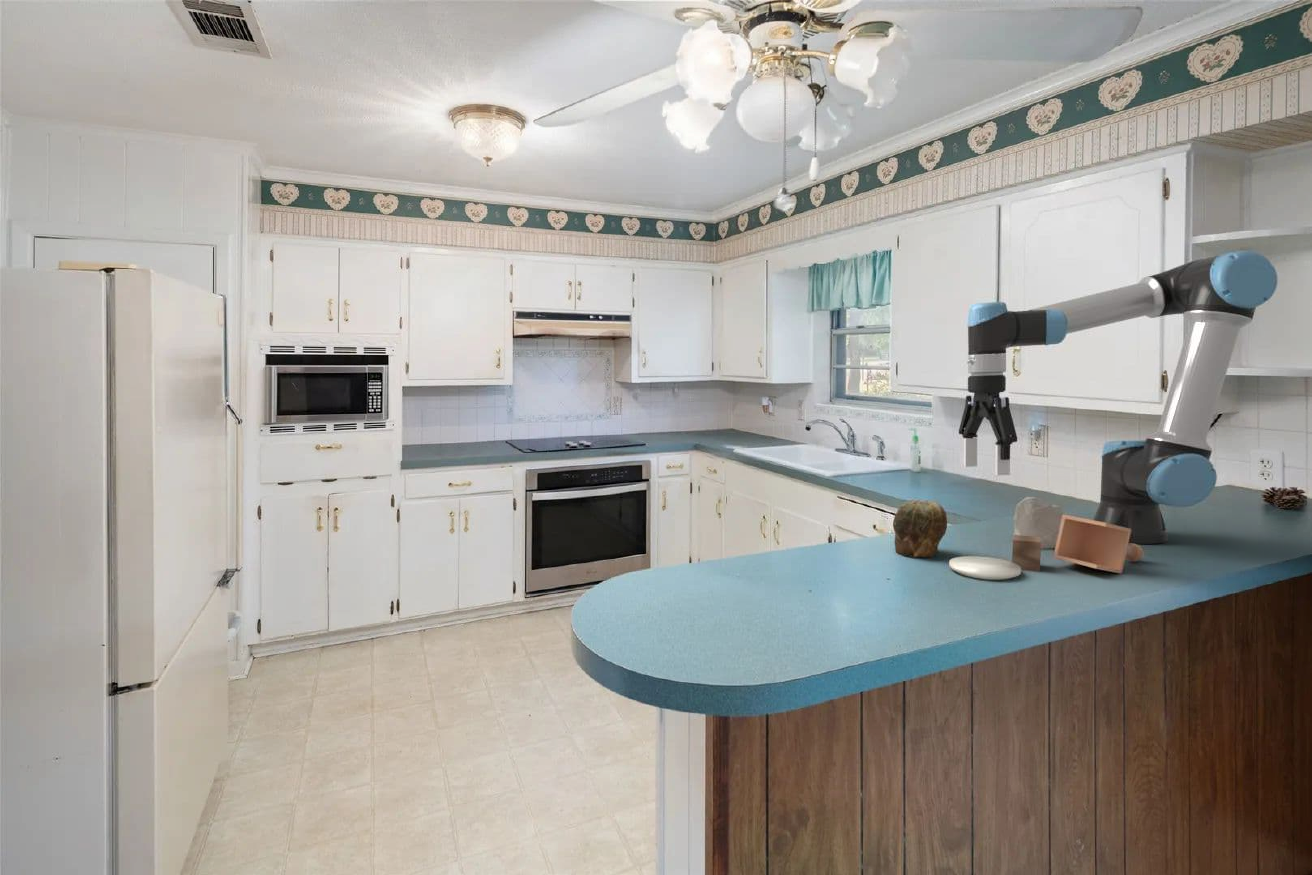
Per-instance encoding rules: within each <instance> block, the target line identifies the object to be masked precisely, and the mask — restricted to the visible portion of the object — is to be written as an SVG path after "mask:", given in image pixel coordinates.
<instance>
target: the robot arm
mask: <svg viewBox="0 0 1312 875" xmlns="http://www.w3.org/2000/svg"><path fill="white" fill-rule="evenodd" d="M1277 288H1278V274H1277V270H1276V268H1275V265H1273V264H1272V263H1271V262H1270V260H1269V259H1268V258H1267V257H1266V256H1264V255H1263V254H1261V253H1258V252H1255V251H1251V250H1241V251H1239V250H1238V251H1228V252H1225V253H1222V254H1218V255H1215V256H1211V257H1207V258H1201V259H1196V260H1193V261H1190V262H1187V263H1183V264H1182V265H1178V266H1175V267H1174V268H1171V269H1168V270H1165V271H1163V272H1159V273H1156V274H1153V275H1149V276H1145V277H1143V278H1141V279H1140V280H1139V281H1138V283H1134V284H1130V285H1125V286H1122V287H1119V288H1114V289H1109V290H1105V291H1102V292H1097V293H1093V294H1090V295H1085V296H1081V297H1078V298H1073V299H1070V300H1069V299H1068V300H1065V301H1060V302H1055V303H1052V304H1048V305H1044V306H1039V307H1037V308H1031V309H1028V310H1019V311H1011V310H1008V308H1007V304H1006V303H1005V302H1003V301H999V302H997V301H992V302H989V301H988V302H979V303H974V304H972V305H971V306H970V307H969V309H968V317H967V318H968V319H967V343H968V344H967V345H968V346H967V347H968V350H967V351H968V352H967V355H968V356H967V358H968V359H967V360H966V364H967V365H968V366H967V369H968V370H967V372H968V374H971V375H969V376H968V377H967V392H968V393H972V395H966V396H965V404H964V409H963V413H962V417H961V420H960V424H959V428H958V435H962V438H963V439H964V440H963V445H964V446H963V449H964V450H963V451H964V452H963V467H965V468H969V467H978V431H979V429H980V427H981V424H982V423H983V420H984V418H985V419H986V420H987V421H989V424H990V426H991V429H992V431H993V434H994V436H995V438H996V442H995V443H994V444H995V466H994V467H995V471H994V474H995V476H1010V475H1011V472H1010V471H1011V468H1010V467H1011V445H1012V444H1013V443H1017V442H1018V436H1017V431H1016V427H1015V424H1014V420H1013V417H1012V412H1011V408H1010V398H1009V397H1008V396H1006V397H1005V396H1003V397H1000V393H1004V392H1005V391H1006V388H1007V385H1006V382H1007V379H1006V378H1007V376H1005V374H1004V373H1005V372H1007V349H1009V348H1013V347H1015V348H1016V347H1028V346H1029V347H1030V346H1049V345H1058V344H1060V343H1062V342H1063V341H1064V340H1065V339H1066V336H1067V335H1068V334H1071V333H1072V334H1073V333H1077V332H1081V331H1085V330H1089V329H1094V328H1097V327H1103V326H1106V325H1111V324H1114V323H1115V324H1116V323H1120V322H1124V321H1128V320H1132V319H1136V318H1140V317H1148V318H1150V319H1155V318H1159V317H1164V316H1171V315H1180V314H1181V315H1183V317H1184V318H1185V319H1186V320H1187V321H1188V327H1187V330H1186V333H1185V336H1184V341H1183V343H1182V347H1181V350H1180V354H1179V358H1178V361H1177V364H1176V368H1175V370H1174V374H1173V378H1172V381H1171V384H1170V387H1169V391H1168V393H1167V394H1168V395H1167V397H1166V401H1165V404H1164V408H1163V410H1162V411H1163V412H1162V415H1161V418H1160V421H1159V424H1158V428H1157V430H1156V431H1155V432H1154V433H1152V434H1150V435H1147V437H1146V439H1145V440H1111V441H1107V442H1106V443H1104V445H1103V448H1102V452H1101V453H1102V454H1101V476H1100V477H1101V478H1100V479H1101V482H1100V499H1099V500H1100V502H1099V505H1098V507H1097V509H1096V511H1095V513H1094V515H1093V519H1092V520H1094V521H1099V522H1104V523H1108V524H1113V525H1117V526H1121V527H1125V528H1129V529H1131V533H1130V538H1129V542H1128V544H1130V543H1134V544H1142V545H1146V544H1147V545H1150V544H1151V545H1152V544H1162V543H1166V542H1167V541H1168V530H1167V528H1166V524H1165V521H1164V517H1163V515H1162V511H1161V508H1160V505H1161V506H1162V505H1163V506H1167V507H1175V508H1188V507H1193V506H1195V505H1196V504H1198V503H1201V502H1203V501H1205V499H1207V498H1208V497H1209V496H1210V495H1211V493H1213V490H1214V489H1215V486H1216V484H1217V478H1218V477H1217V475H1218V474H1217V470H1216V469H1215V468H1214V464H1213V463H1212V462H1211V461H1210V458H1211V455H1212V453H1213V448H1212V447H1211V446H1210V445H1209V443H1208V441H1207V437H1208V435H1209V431H1210V428H1211V425H1212V422H1213V419H1214V415H1215V411H1216V408H1217V405H1218V402H1219V398H1220V395H1221V392H1222V388H1223V385H1224V382H1225V379H1226V375H1227V372H1228V369H1229V366H1230V362H1231V359H1232V356H1233V352H1234V348H1235V346H1236V343H1237V340H1238V337H1239V333H1240V329H1242V328H1243V327H1245V326H1247V325H1248V324H1251V323H1252V321H1253V318H1254V315H1255V312H1256V309H1257V307H1259V306H1261V305H1263V304H1265V303H1266V302H1267V301H1268V300H1270V299H1271V297H1273V295H1274V293H1275V292H1276V290H1277Z"/></svg>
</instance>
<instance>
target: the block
mask: <svg viewBox="0 0 1312 875" xmlns="http://www.w3.org/2000/svg"><path fill="white" fill-rule="evenodd" d="M1041 551H1042V549H1041V537H1035V536H1023V535H1014V534H1012V553H1011V554H1012V555H1011V556H1012V557H1011V559H1012V561H1011V562H1013V563H1015V564H1017V565H1019V566H1020V567H1021V571H1028V572H1029V571H1031V572H1041V556H1042V555H1041V553H1042V552H1041Z"/></svg>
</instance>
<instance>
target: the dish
mask: <svg viewBox="0 0 1312 875" xmlns="http://www.w3.org/2000/svg"><path fill="white" fill-rule="evenodd" d="M948 562H949V563H948V565H949V568H950V569H951V570H952V571H954V572H956V573H958V574H960V575H962V576H966V577H968V578H974V579H979V580H980V579H981V580H990V581H1002V580H1004V581H1005V580H1010V579H1013V578H1015V577H1019V576H1020V575H1021V573H1022V570H1021V567H1020V566H1019V565H1017V564H1015V563H1013V562H1012V561H1009V560H1006V559H1002V558H996V557H990V556H978V555H977V556H976V555H966V556H965V555H964V556H957V557H953V558H950V559H949V561H948Z"/></svg>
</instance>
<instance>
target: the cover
mask: <svg viewBox="0 0 1312 875" xmlns="http://www.w3.org/2000/svg"><path fill="white" fill-rule="evenodd" d="M1130 533H1131V529H1129V528H1125V527H1121V526H1117V525H1113V524H1108V523H1104V522H1099V521H1094V520H1093V519H1089V518H1083V517H1079V516H1078V517H1077V516H1073V515H1069V514H1063V515H1062V519H1061V524H1060V529H1059V533H1058V538H1057V542H1056V547H1055V548H1054V551H1053V552H1054V553H1053V558H1054V559H1058V560H1062V561H1066V562H1068V563H1069V562H1070V563H1073V564H1077V565H1081V566H1085V567H1088V568H1092V569H1095V570H1096V569H1097V570H1101V571H1106V572H1111V573H1117V574H1122V573H1123V570H1124V564H1125V561H1126V560H1127V561H1128V562H1132V563H1135V562H1139V561H1141V560H1142V559H1143V557H1144V555H1145V552H1144V549H1143V548H1142V547H1141V545H1139V544H1138V543H1128V542H1129V538H1130Z"/></svg>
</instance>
